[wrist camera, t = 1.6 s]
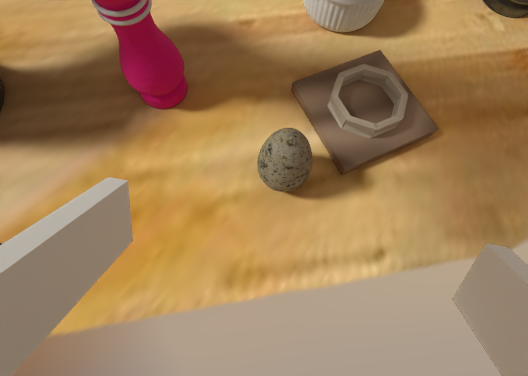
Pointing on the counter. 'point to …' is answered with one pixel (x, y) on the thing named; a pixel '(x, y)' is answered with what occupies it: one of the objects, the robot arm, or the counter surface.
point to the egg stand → (362, 111)
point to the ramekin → (342, 13)
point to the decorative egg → (285, 160)
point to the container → (509, 7)
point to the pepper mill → (145, 52)
